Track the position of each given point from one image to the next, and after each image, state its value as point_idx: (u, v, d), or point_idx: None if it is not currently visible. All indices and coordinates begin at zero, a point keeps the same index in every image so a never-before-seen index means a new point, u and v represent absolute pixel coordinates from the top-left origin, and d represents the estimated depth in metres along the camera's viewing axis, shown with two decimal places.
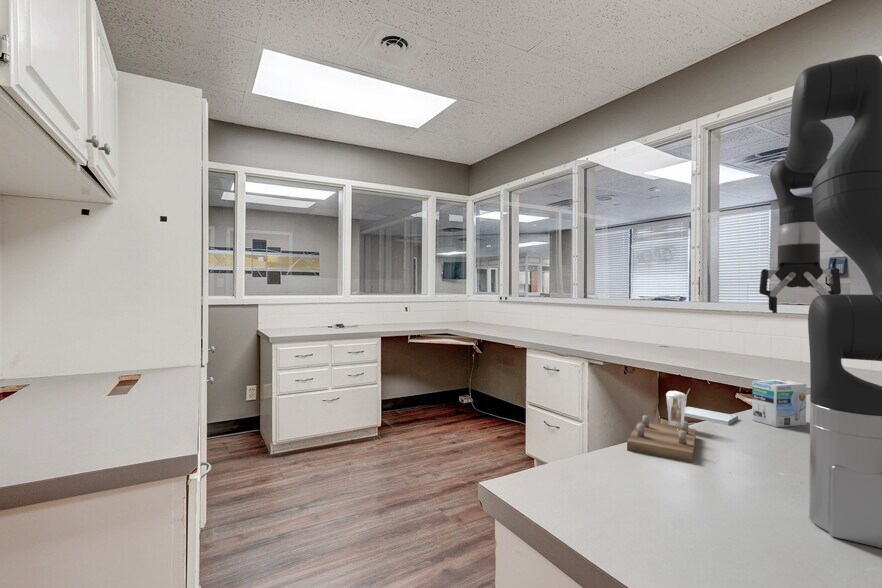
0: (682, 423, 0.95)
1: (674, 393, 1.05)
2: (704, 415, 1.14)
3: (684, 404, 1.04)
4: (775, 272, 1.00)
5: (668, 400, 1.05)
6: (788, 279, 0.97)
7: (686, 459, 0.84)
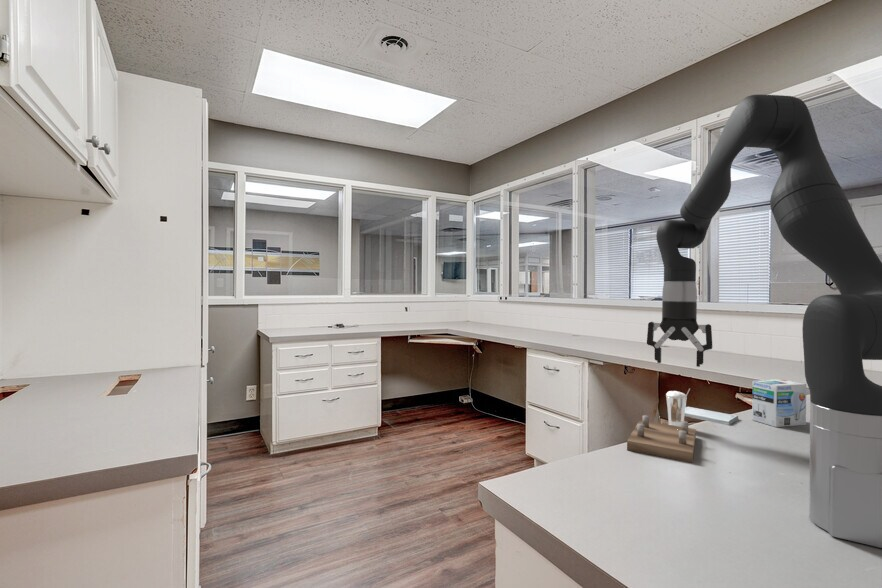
0: (682, 423, 0.95)
1: (674, 393, 1.05)
2: (704, 415, 1.13)
3: (684, 404, 1.04)
4: (659, 325, 1.07)
5: (668, 400, 1.05)
6: (669, 333, 1.05)
7: (686, 459, 0.84)
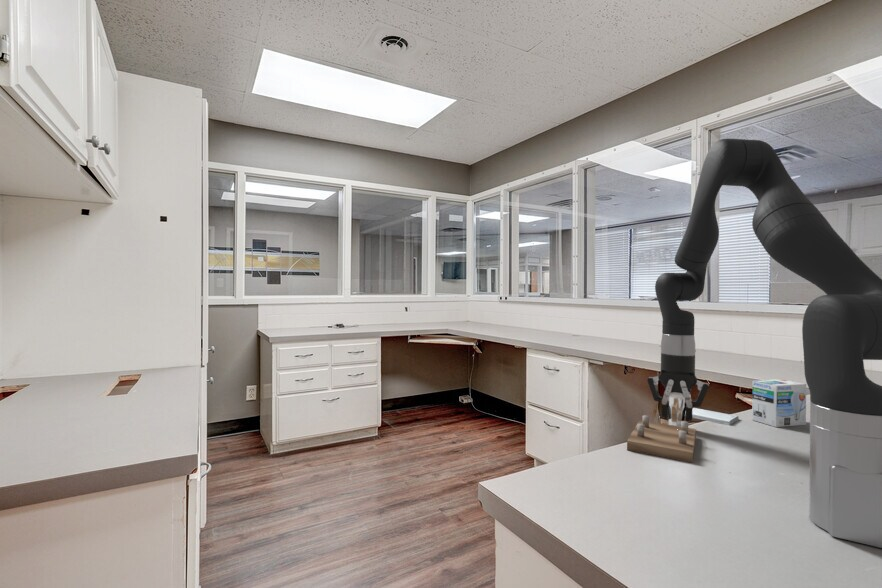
0: (682, 423, 0.95)
1: (675, 393, 1.04)
2: (705, 415, 1.13)
3: (685, 404, 1.04)
4: (658, 376, 1.07)
5: (669, 400, 1.05)
6: (667, 385, 1.05)
7: (686, 459, 0.84)
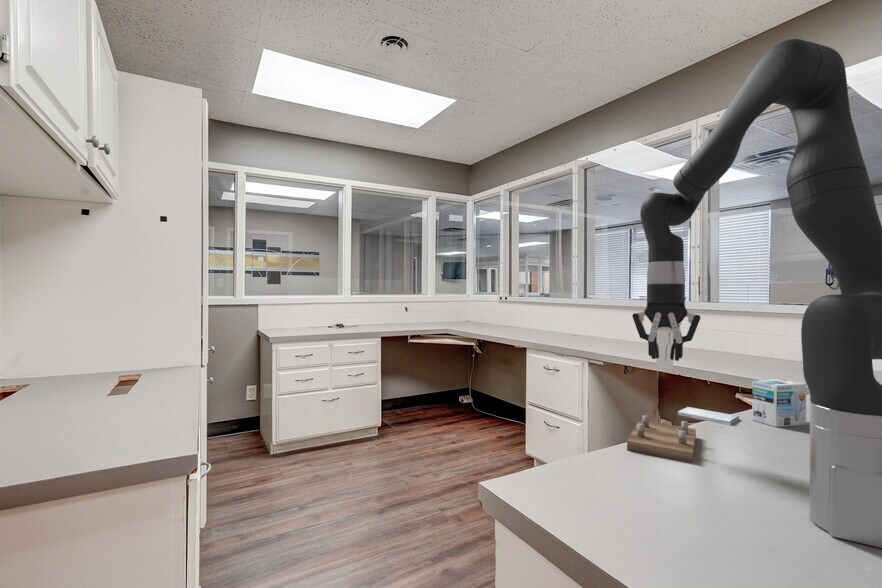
0: (682, 423, 0.95)
1: (663, 327, 0.93)
2: (705, 415, 1.13)
3: (674, 339, 0.92)
4: (644, 311, 0.96)
5: (656, 336, 0.94)
6: (654, 319, 0.94)
7: (686, 459, 0.84)
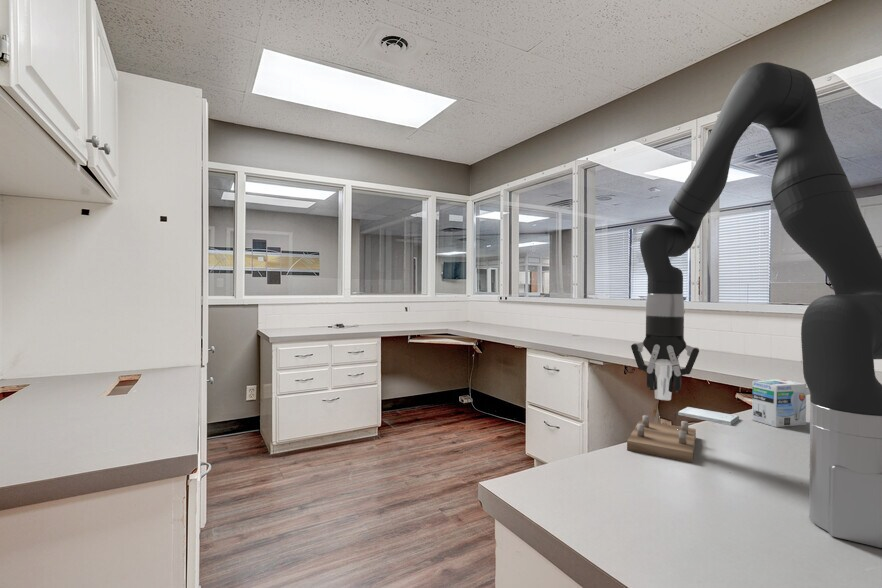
0: (682, 423, 0.95)
1: (661, 359, 0.93)
2: (706, 415, 1.13)
3: (672, 372, 0.92)
4: (643, 342, 0.96)
5: (655, 368, 0.94)
6: (653, 351, 0.94)
7: (686, 459, 0.84)
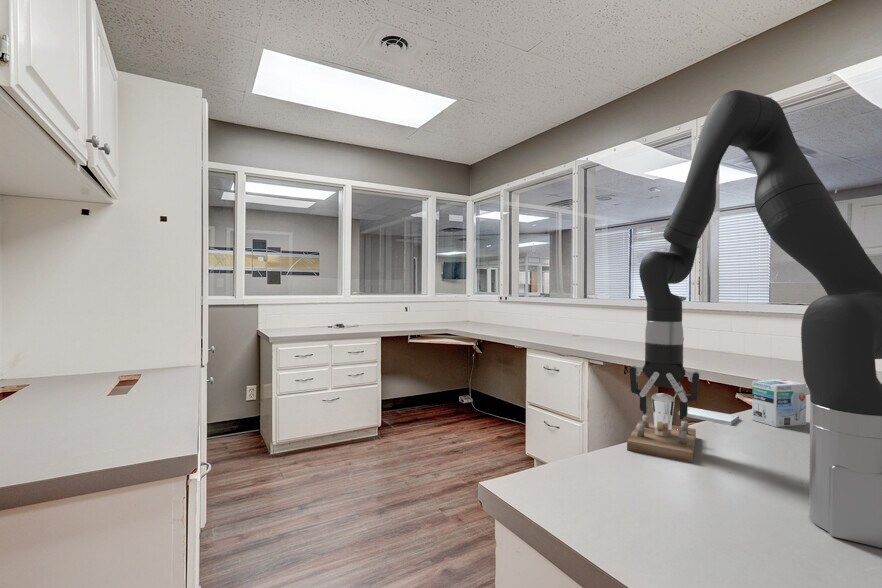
0: (682, 423, 0.95)
1: (660, 395, 0.93)
2: (706, 415, 1.13)
3: (672, 408, 0.92)
4: (642, 369, 0.96)
5: (654, 403, 0.94)
6: (652, 378, 0.94)
7: (686, 459, 0.84)
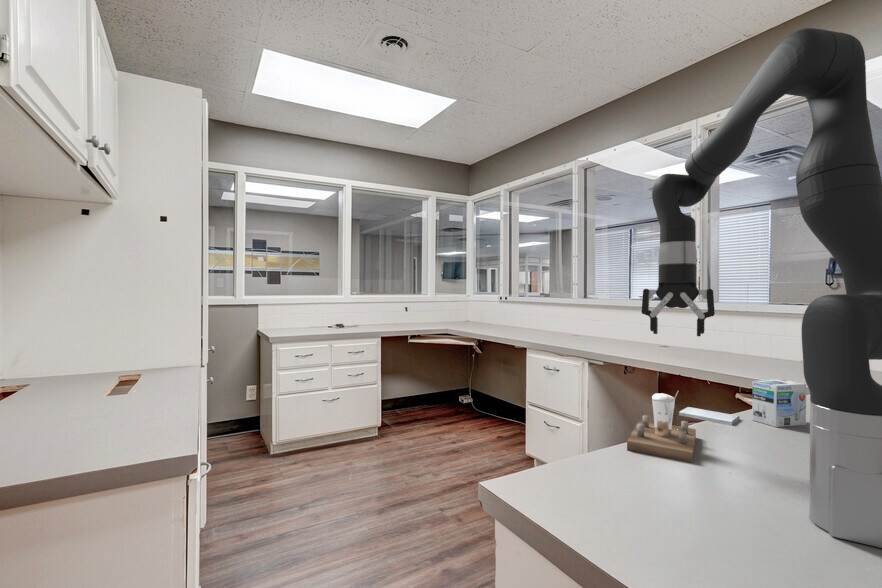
0: (682, 423, 0.95)
1: (660, 396, 0.93)
2: (707, 416, 1.13)
3: (672, 408, 0.92)
4: (655, 292, 0.97)
5: (654, 404, 0.94)
6: (666, 299, 0.95)
7: (686, 459, 0.84)
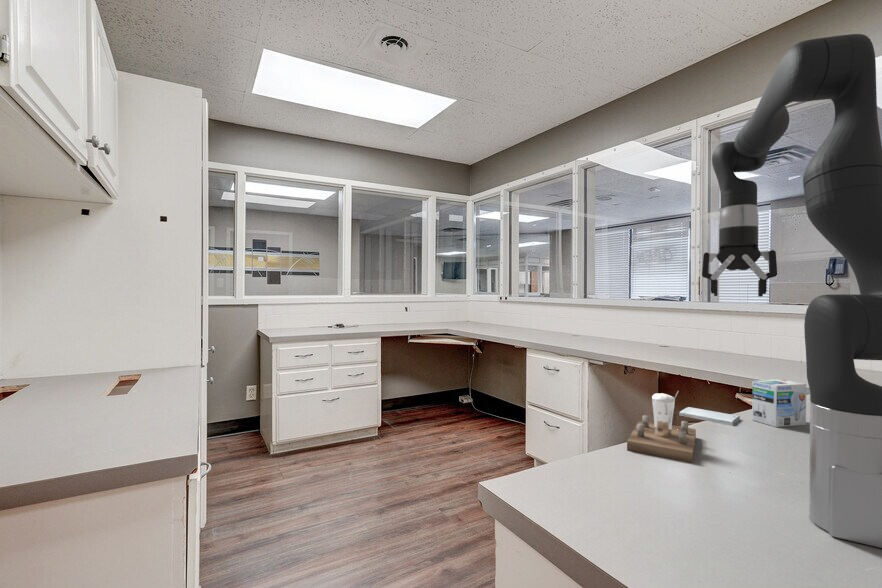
0: (682, 423, 0.95)
1: (661, 396, 0.93)
2: (707, 416, 1.13)
3: (672, 408, 0.92)
4: (716, 255, 1.00)
5: (654, 404, 0.94)
6: (728, 262, 0.98)
7: (686, 459, 0.84)
